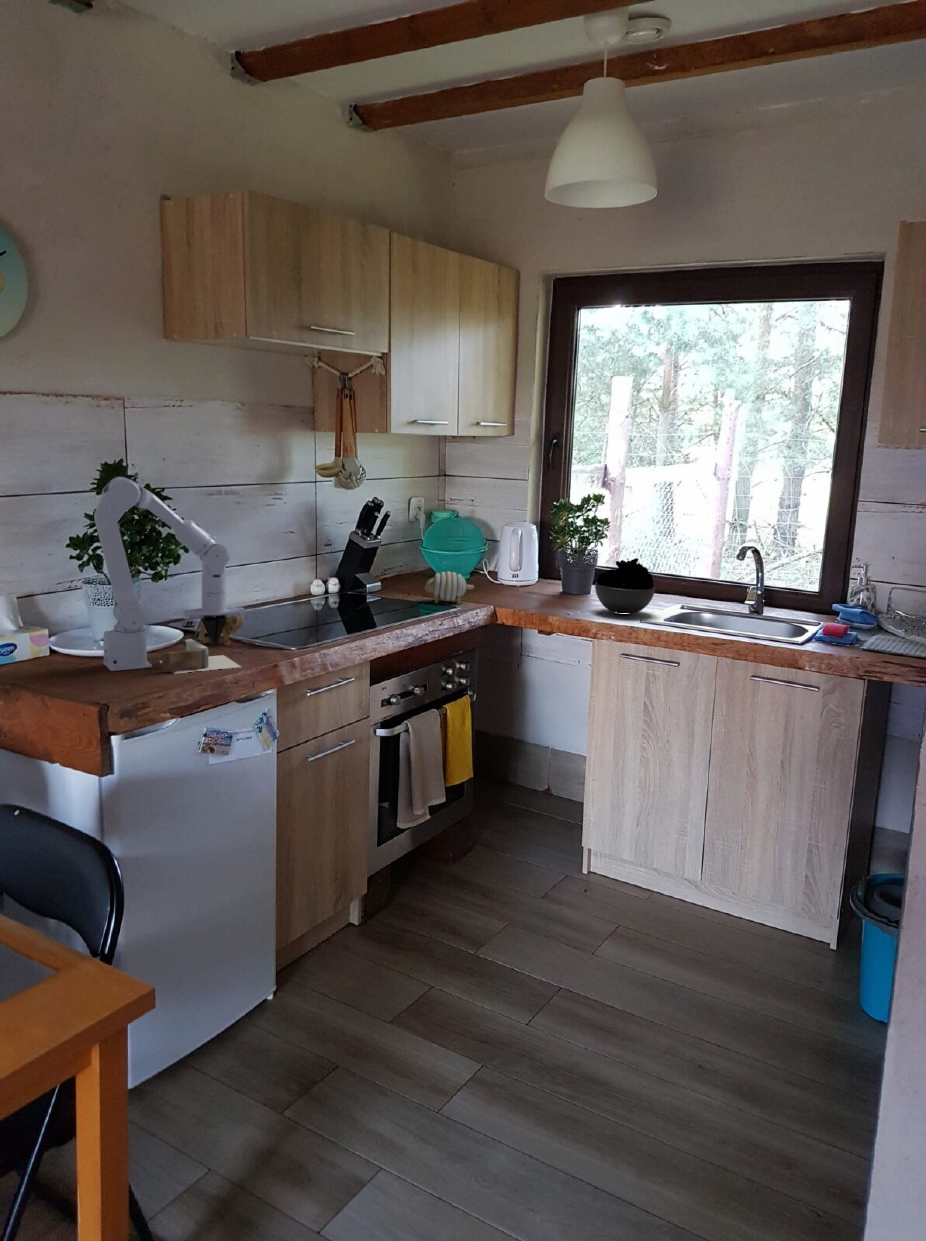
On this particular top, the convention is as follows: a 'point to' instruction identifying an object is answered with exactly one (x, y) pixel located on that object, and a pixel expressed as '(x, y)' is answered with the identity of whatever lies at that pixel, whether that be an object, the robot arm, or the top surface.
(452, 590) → the toy sheep
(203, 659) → the pale green long block
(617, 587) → the bowl of black rocks
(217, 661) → the card
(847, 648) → the top surface
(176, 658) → the brown wooden block
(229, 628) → the lion figurine
